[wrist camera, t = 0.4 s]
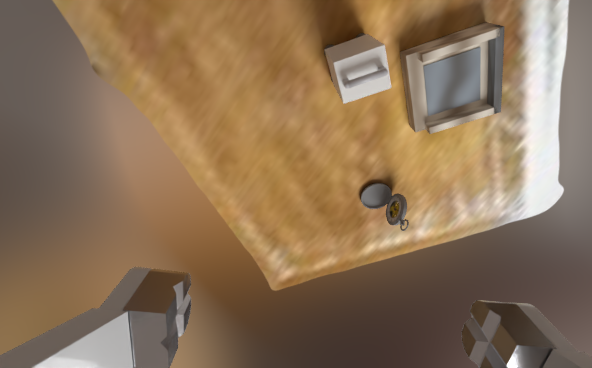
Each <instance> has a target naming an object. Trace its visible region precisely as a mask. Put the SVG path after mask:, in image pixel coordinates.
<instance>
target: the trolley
mask: <svg viewBox="0 0 592 368" xmlns="http://www.w3.org/2000/svg"><path fill="white" fill-rule="evenodd" d="M324 54H325V56H326V57H327V61H328V65H329V69H330V73H331V80H332V82H333V84H334V87H335V89H336V90H337V92H338V94H339V96H340V98H341V100H342V102H343V103H344V104H345V103H348V102H351V101H354V100H357V99H360V98H363V97H366V96H369V95H372V94H375V93H378V92H381V91H384V90H387V89H390V88H391V82H390V76H389V69H388V63H387V57H386V50H385V45H384V44H383V43H381V42H379V41H378V40H376V39H375V38H373V37H372V36H370V35H369V34H364V33H360V34H358V35H357V36H356V38H355V39H352V40H349V41H347V42H344V43H341V44H338V45H336V46H334V45H327V46H326V47H325V49H324Z"/></svg>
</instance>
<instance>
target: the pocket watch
mask: <svg viewBox="0 0 592 368" xmlns="http://www.w3.org/2000/svg"><path fill="white" fill-rule="evenodd" d="M361 202H362V204H363V205H364V206H365V207H367V208H370V209H378V208H381V207H383V206H385V205H386V204H388V205H387V209H386V217H387V221H388V223H389V224H391V225H398V224H400V225H401V226H400V228H401V230H402V231H405V230H406V229H407V227H408V224H409V222H408V220H406V219H405V220H403V219H404V217H405V215H406V211H407V202H406V199H405V197H404V196H403V195H401V194H395V195H393V196H392V192H391V190H390V188H389V187H388V186H387V185H385V184H383V183H374V184H371V185H369V186H368V187H366V188H365V189H364V190H363V192H362V194H361ZM397 202H398V204H399V205H398V204H397ZM396 204H397V205H396ZM395 215H396V216H395ZM405 221H407V227H406V228H405V229H402V225H405V224H404V223H405Z"/></svg>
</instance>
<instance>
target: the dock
mask: <svg viewBox="0 0 592 368" xmlns="http://www.w3.org/2000/svg"><path fill="white" fill-rule="evenodd" d="M503 48H504V26H500V25H496V24H491V23H487V22H485V23H482V24H479V25H476V26H473V27H470V28H467V29H465V30H462V31H459V32H456V33H453V34H450V35H447V36H444V37H442V38H439V39H436V40H433V41H430V42H427V43H424V44H421V45H419V46H416V47H413V48H410V49H407V50H404V51H401V52H400V57H401V64H402V72H403V79H404V87H405V94H406V102H407V109H408V117H409V124H410V127H411V128H412V129H413V130H414V131H415V132H418V131H422V130H425V129H426V130H427V131H428V132H429V134H431V133H434V132H438V131H441V130H444V129H447V128H451V127H454V126H457V125H460V124H463V123H467V122H470V121H473V120H476V119H479V118H483V117H486V116H489V115H492V114H496V113H499V112H501V96H502V72H503Z"/></svg>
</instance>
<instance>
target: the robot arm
mask: <svg viewBox="0 0 592 368" xmlns="http://www.w3.org/2000/svg"><path fill="white" fill-rule="evenodd" d="M190 286H191V276H190V274H189V273H187V272H178V271H169V270H161V269H150V268H141V267H134V268H132V269H130V270H129V271H128V273H127V274H126V275H125V276H124V278H123V279H122V280H121V281H120V283H119V284H118V285H117V286H116V288H115V289H114V290H113V291H112V293H111V294H110V295H109V296H108V298H107V299H106V300H105V301H104V303H103V304H102V305H101V306H100V308H99V309H95V308H92V309H90V310H88V311H87V312H84V313H82V314H80V315H78V316H77V317H75V318H73V319H71V320H69V321H67V322H65V323H63V324H61V325H59V326H57V327H55V328H53V329H51V330H49V331H47V332H45V333H43V334H41V335H39V336H37V337H35V338H33V339H31V340H29V341H27V342H25V343H24V344H22V345H20V346H18V347H16V348H14V349H12V350H10V351H8V352H6V353H4V354H2V355H0V368H170V366H171V363H172V361H173V358H174V356H175V354H176V351H177V349H178V337H179V336H181V335H182V334H184V332H185V329H186V326H187V324H188V320H189V316H190V310H191V297H190V296H189V295H188V294H187V292H188V290H189V288H190ZM470 313H471V315H472V318H471V319H469V320H468V321H467V322H465V324H464V327H463V329H462V344H463V347H464V350H465V352H466V353H467V355H468V357H469V359H471V360H472V361H473V362H474V363H476V364H477V365H478V366H479V367H478V368H592V356H590V355H588V354H586V353H585V352H579V351H577V350H576V348H575V347H574V346H573V345H571V343H570V342H569V341H568V340H567V339H566V338H565V337H564V336H563V335H562V334H561V333H560V332H559V331H558V330H557V329H556V328H555V327H554V326H553V325H552V324H551V323H550V322H549V321H548V320H547V319H546V318H545V316H543V315H542V313H540V311H539V310H538V309H537V308H536V307H534V306H532V305H530V304H523V303H504V302H493V301H481V300H476V301H475V302H474V303H473V304H472V306H471V309H470Z"/></svg>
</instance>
